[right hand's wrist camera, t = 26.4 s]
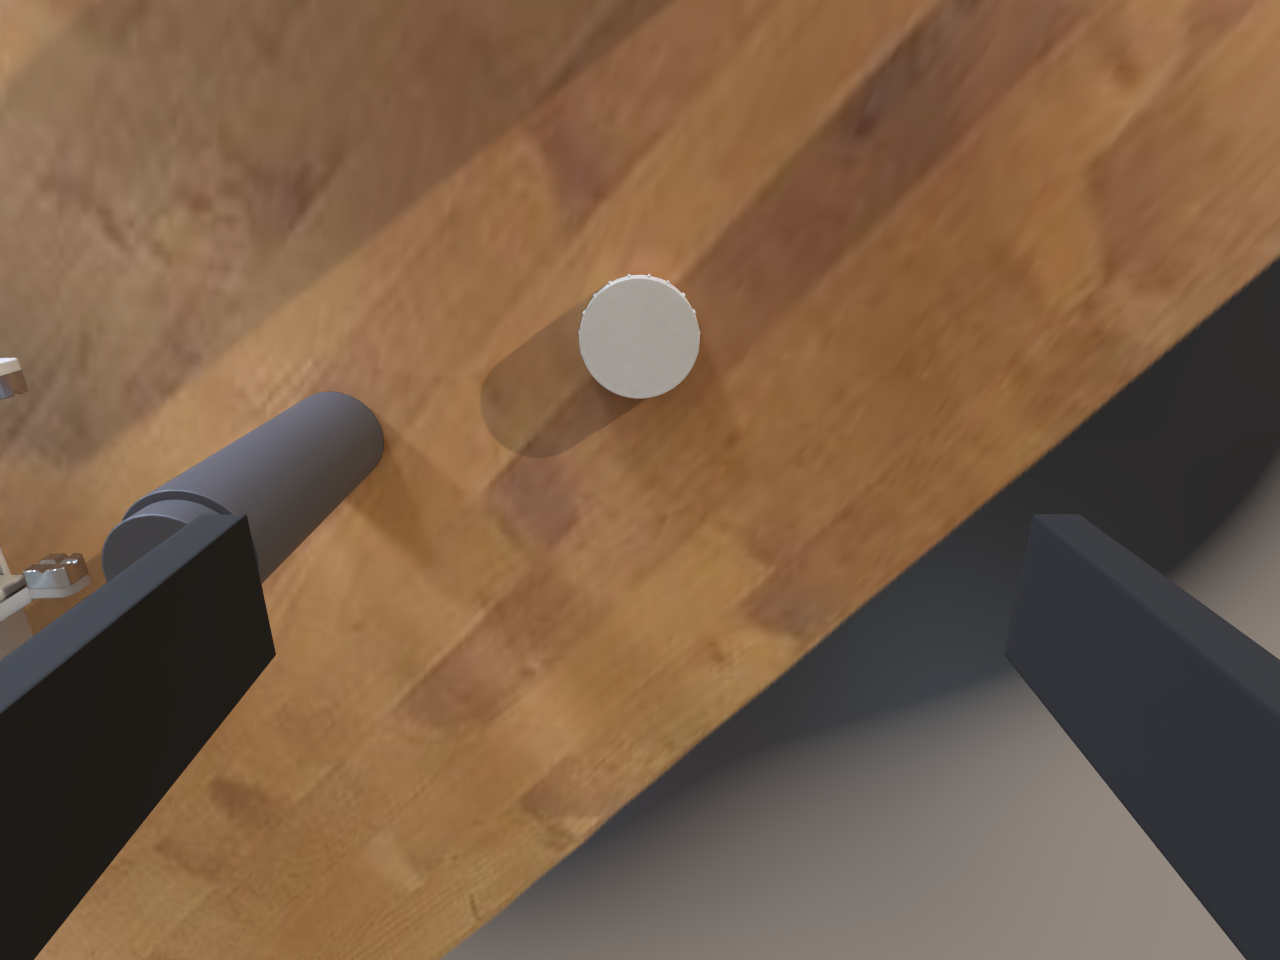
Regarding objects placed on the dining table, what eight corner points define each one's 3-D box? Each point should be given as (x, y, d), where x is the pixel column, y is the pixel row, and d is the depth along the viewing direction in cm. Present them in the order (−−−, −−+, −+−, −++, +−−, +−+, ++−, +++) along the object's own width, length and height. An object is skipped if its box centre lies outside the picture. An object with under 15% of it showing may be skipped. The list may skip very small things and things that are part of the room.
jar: (319, 493, 40) (146, 653, 26) (271, 410, 39) (59, 534, 24) (400, 462, 40) (268, 609, 25) (355, 377, 38) (188, 484, 24)
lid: (695, 267, 36) (697, 270, 34) (702, 387, 38) (704, 394, 37) (573, 278, 36) (570, 282, 35) (587, 396, 38) (585, 405, 37)
